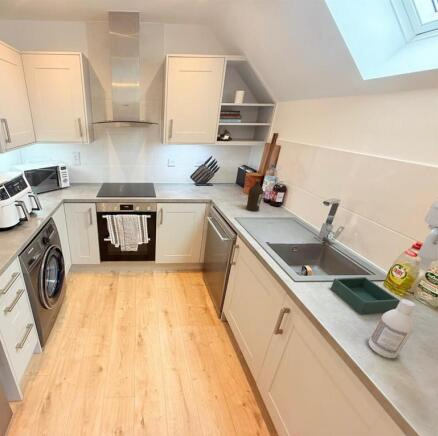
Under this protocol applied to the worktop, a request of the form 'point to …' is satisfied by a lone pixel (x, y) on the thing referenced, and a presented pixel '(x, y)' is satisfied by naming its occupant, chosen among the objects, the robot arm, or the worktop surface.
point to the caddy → (364, 295)
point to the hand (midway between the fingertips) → (427, 262)
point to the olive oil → (254, 196)
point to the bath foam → (393, 330)
